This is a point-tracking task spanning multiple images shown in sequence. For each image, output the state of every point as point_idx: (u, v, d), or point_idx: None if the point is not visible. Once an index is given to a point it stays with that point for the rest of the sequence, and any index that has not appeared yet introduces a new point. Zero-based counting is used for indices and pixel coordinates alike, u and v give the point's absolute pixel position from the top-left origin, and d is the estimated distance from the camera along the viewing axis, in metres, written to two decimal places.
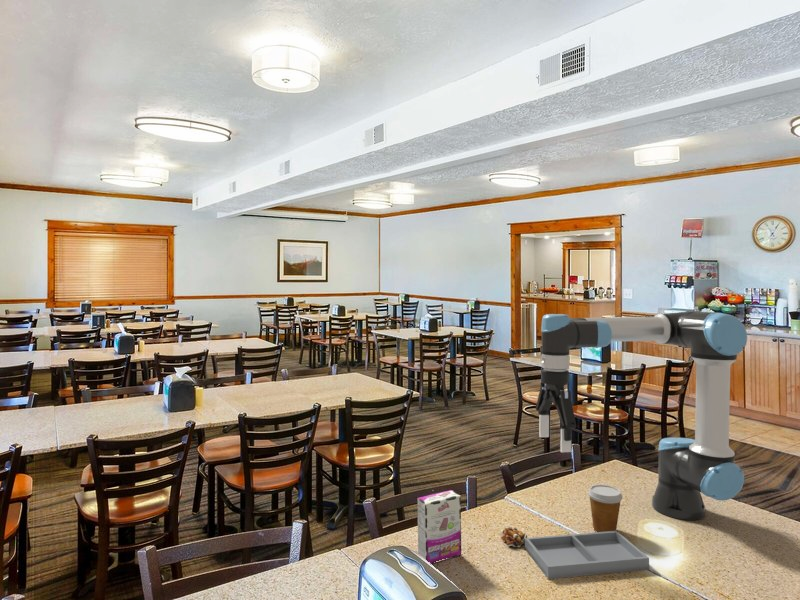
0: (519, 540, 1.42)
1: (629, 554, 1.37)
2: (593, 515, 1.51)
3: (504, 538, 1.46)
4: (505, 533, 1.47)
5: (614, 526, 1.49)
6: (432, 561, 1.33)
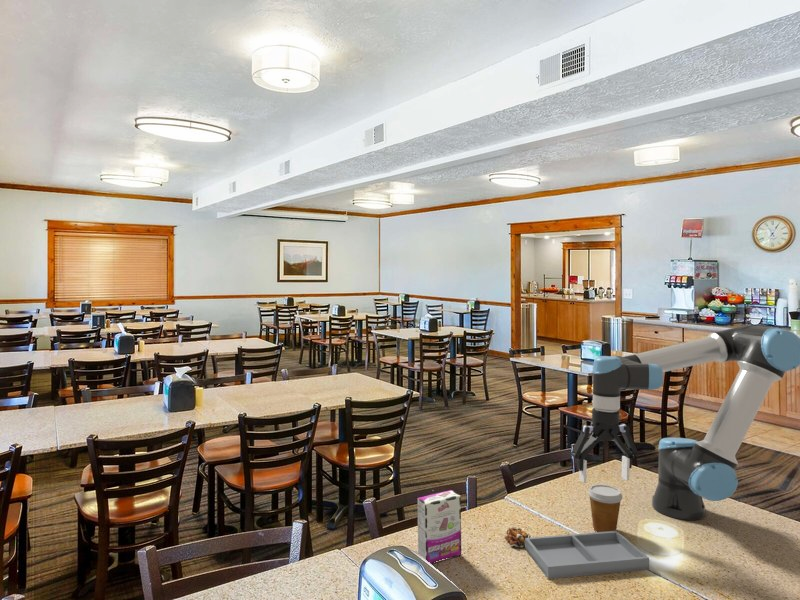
0: (522, 540, 1.42)
1: (629, 554, 1.37)
2: (593, 515, 1.51)
3: (507, 538, 1.46)
4: (509, 533, 1.47)
5: (614, 526, 1.49)
6: (432, 561, 1.33)
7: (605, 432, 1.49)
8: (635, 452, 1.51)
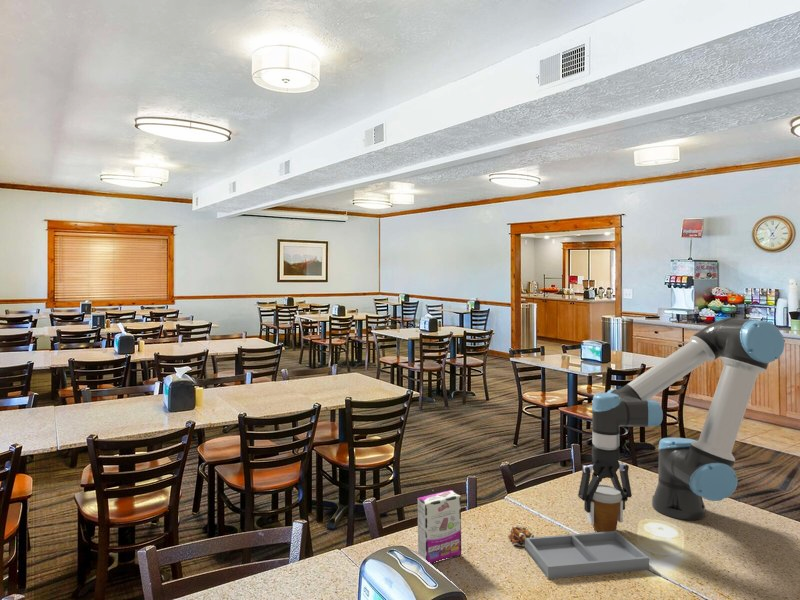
0: (524, 539, 1.43)
1: (629, 554, 1.37)
2: None
3: (511, 537, 1.47)
4: (512, 532, 1.48)
5: (614, 526, 1.49)
6: (432, 561, 1.33)
7: (605, 469, 1.49)
8: (629, 493, 1.52)
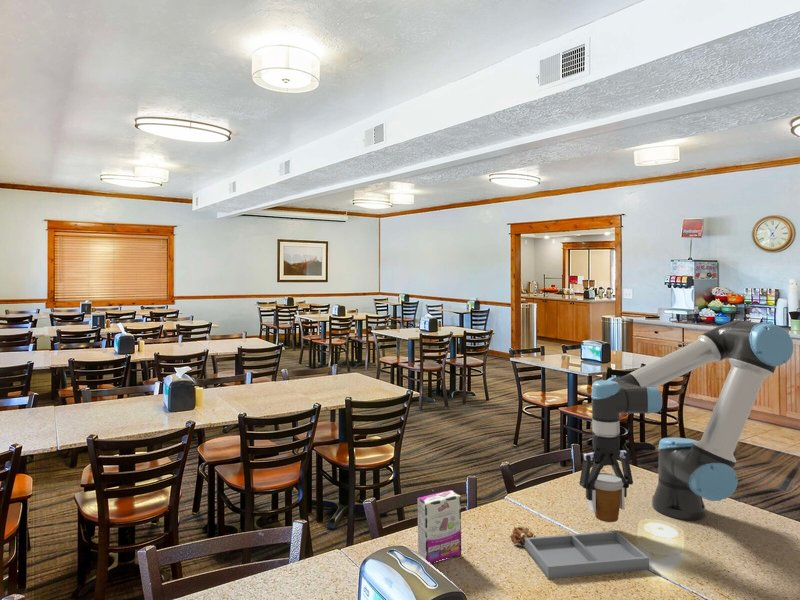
0: None
1: (629, 554, 1.37)
2: None
3: (512, 537, 1.47)
4: (514, 532, 1.48)
5: (616, 513, 1.49)
6: (432, 561, 1.33)
7: (606, 457, 1.49)
8: (630, 480, 1.51)
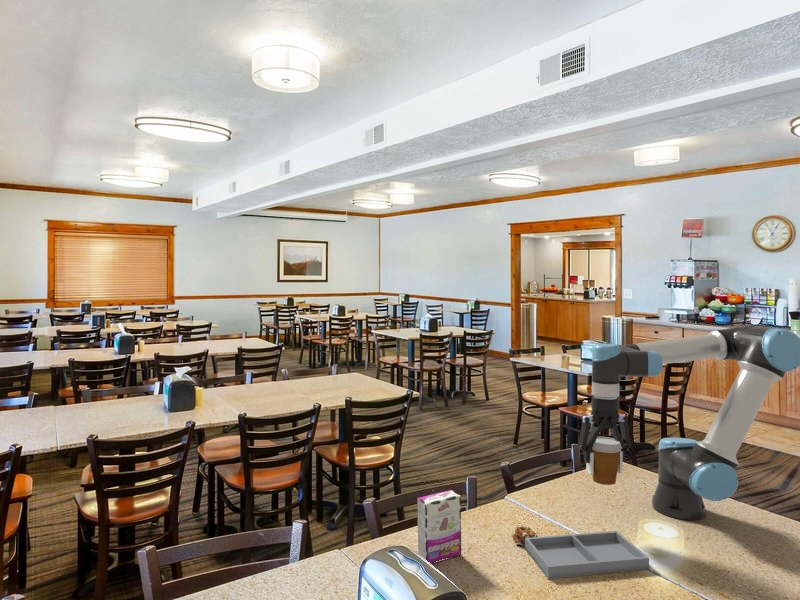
0: None
1: (629, 554, 1.37)
2: None
3: (514, 536, 1.47)
4: (516, 531, 1.48)
5: (614, 476, 1.48)
6: (432, 561, 1.33)
7: (605, 419, 1.49)
8: (628, 444, 1.51)
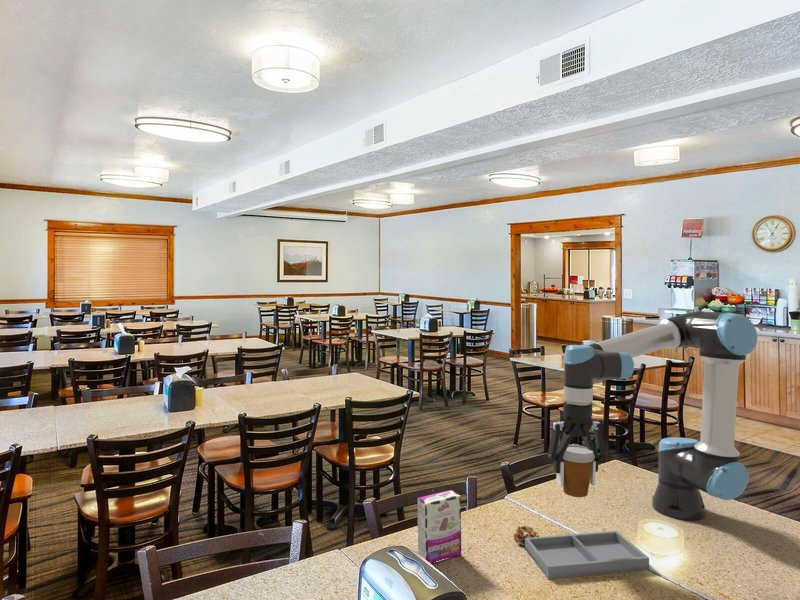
0: None
1: (629, 554, 1.37)
2: None
3: (516, 536, 1.47)
4: (517, 531, 1.48)
5: (585, 488, 1.37)
6: (432, 561, 1.33)
7: (576, 427, 1.38)
8: (602, 454, 1.40)
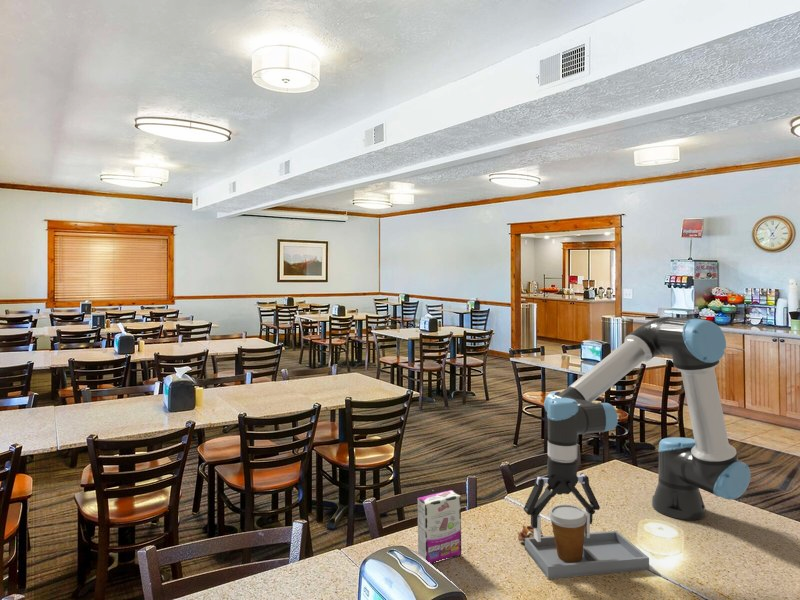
0: None
1: (629, 554, 1.37)
2: (556, 541, 1.35)
3: (520, 534, 1.48)
4: (522, 530, 1.49)
5: (579, 552, 1.32)
6: (432, 561, 1.33)
7: (561, 485, 1.32)
8: (596, 506, 1.35)
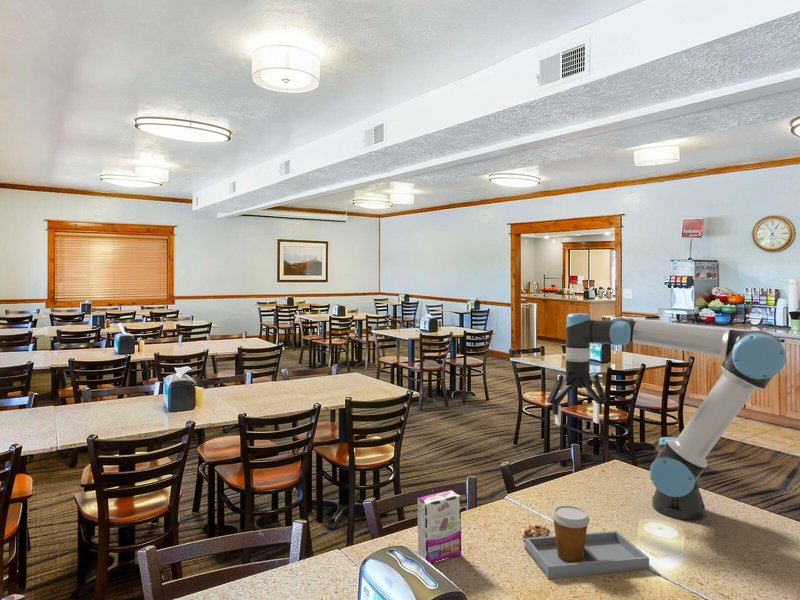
0: None
1: (629, 554, 1.37)
2: (557, 540, 1.35)
3: None
4: (529, 528, 1.50)
5: (580, 553, 1.32)
6: (432, 561, 1.33)
7: (577, 380, 1.68)
8: (604, 398, 1.70)
